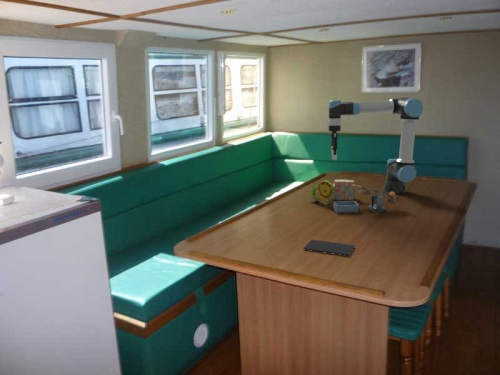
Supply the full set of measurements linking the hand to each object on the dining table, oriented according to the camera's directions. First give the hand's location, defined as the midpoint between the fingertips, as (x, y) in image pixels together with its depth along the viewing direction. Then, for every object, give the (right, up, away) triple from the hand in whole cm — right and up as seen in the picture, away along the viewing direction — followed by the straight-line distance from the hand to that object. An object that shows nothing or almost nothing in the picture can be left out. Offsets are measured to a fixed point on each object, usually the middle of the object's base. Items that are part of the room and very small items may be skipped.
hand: (334, 157), depth 294 cm
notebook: (-17, -48, -81) cm, 96 cm away
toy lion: (-8, -29, -3) cm, 31 cm away
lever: (+21, -25, -16) cm, 36 cm away
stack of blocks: (+3, -27, +8) cm, 28 cm away
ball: (+31, -23, -21) cm, 44 cm away
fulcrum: (+22, -32, -19) cm, 44 cm away
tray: (+3, -33, -20) cm, 39 cm away
